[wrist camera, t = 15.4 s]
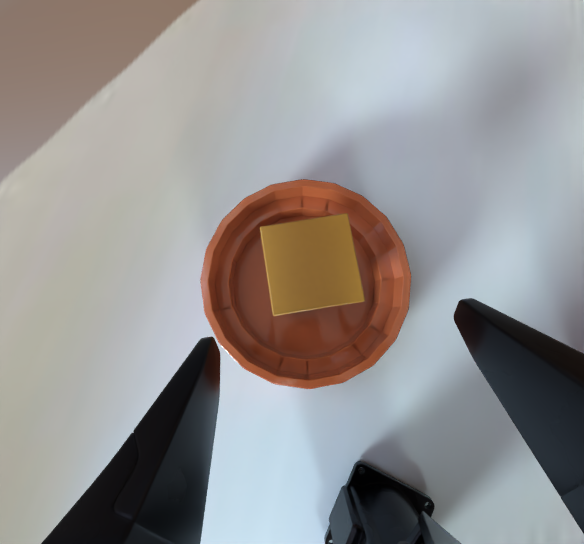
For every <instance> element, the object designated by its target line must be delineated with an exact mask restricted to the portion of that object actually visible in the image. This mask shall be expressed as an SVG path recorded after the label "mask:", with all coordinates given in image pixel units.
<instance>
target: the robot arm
mask: <svg viewBox="0 0 584 544" xmlns="http://www.w3.org/2000/svg"><path fill="white" fill-rule="evenodd" d="M454 321H455V323H456V325H457V327H458V329H459V331H460V333H461V335H462V337H463V339H464V341H465V343H466V345H467V347H468V350H469V352H470V353H471V355H472V357H473V359H474V361H475V362H476V364H477V366H478V367H479V369H480V370H481V372H482V374H483V375H484V377H485V378H486V380H487V381H488V383H489V385H490V386H491V388H492V389H493V391H494V393H495V394H496V396H497V397H498V399H499V400H500V402H501V404H502V405H503V407H504V408H505V410H506V411H507V413H508V415H509V416H510V418H511V419H512V421H513V423H514V424H515V426H516V427H517V429H518V430H519V432H520V434H521V435H522V437H523V438H524V440H525V441H526V443H527V445H528V446H529V448H530V449H531V451H532V453H533V454H534V456H535V457H536V459H537V460H538V462H539V464H540V465H541V467H542V468H543V470H544V472H545V473H546V475H547V476H548V478H549V479H550V481H551V483H552V484H553V486H554V487H555V489H556V490H557V492H558V494H559V495H560V496H561V499H562V500H563V502H564V503H565V505H566V507H567V508H568V510H569V511H570V513H571V514H572V516H573V518H574V519H575V521H576V522H577V524H578V526H579V527H580V529H581V530H582V532H583V533H584V354H583V353H581V352H579V351H577V350H575V349H573V348H571V347H569V346H567V345H565V344H563V343H561V342H559V341H557V340H555V339H553V338H551V337H549V336H547V335H545V334H543V333H541V332H539V331H537V330H535V329H533V328H531V327H529V326H527V325H525V324H523V323H521V322H519V321H517V320H515V319H513V318H511V317H509V316H507V315H505V314H503V313H501V312H499V311H497V310H495V309H493V308H491V307H489V306H487V305H485V304H483V303H481V302H479V301H477V300H475V299H472V298H469V299H462V300H460V301H459V303H458V305H457V308H456V311H455V313H454ZM219 394H220V351H219V349H218V346H217V344H216V342H215V339H214V338H213V337H206V338H202V339H200V341H199V342H198V343H197V345H196V346H195V347H194V349H193V350H192V351H191V353H190V354H189V356H188V357H187V358H186V360H185V361H184V362H183V364H182V365H181V366H180V368H179V369H178V371H177V372H176V373H175V375H174V376H173V377H172V379H171V380H170V382H169V383H168V384H167V386H166V387H165V388H164V390H163V391H162V392H161V394H160V395H159V397H158V398H157V399H156V401H155V402H154V403H153V405H152V406H151V407H150V409H149V410H148V412H147V413H146V414H145V416H144V417H143V418H142V420H141V421H140V422H139V424H138V425H137V427H136V428H135V429H134V433H131V435H130V436H129V437H128V439H127V440H126V441H125V443H124V444H123V445H122V447H121V448H120V449H119V451H118V452H117V453H116V455H115V456H114V457H113V459H112V460H111V461H110V463H109V464H108V465H107V466H106V468H105V469H104V470H103V471H102V472H101V474H100V475H99V476H98V477H97V478H96V480H95V481H94V482H93V483H92V485H91V486H90V487H89V488H88V489H87V490H86V492H85V493H84V494H83V495H82V496H81V498H80V499H79V500H78V501H77V502H76V503H75V505H74V506H73V507H72V508H71V509H70V511H69V512H68V513H67V514H66V515H65V516H64V518H63V519H62V520H61V521H60V522H59V524H58V525H57V526H56V527H55V528H54V529H53V531H52V532H51V533H50V534H49V535H48V536H47V538H46V539H45V540H44V541H43V542H42V543H41V544H200V541H201V534H202V526H203V519H204V511H205V504H206V496H207V489H208V481H209V474H210V466H211V458H212V451H213V443H214V436H215V428H216V421H217V413H218V406H219ZM360 467H362V468H363V470H362V471H361V472H360V471H358V469H359V468H360ZM426 502H429V503H428V505H427V506H424V505H425V503H426ZM433 510H434V503H433V501H432V500H431V498H430V497H429V496H427V495H426V494H424V493H422V492H420V491H418V490H416V489H414V488H412V487H410V486H408V485H406V484H404V483H403V482H401V481H399V480H397V479H395V478H393V477H391V476H389V475H387V474H385V473H383V472H381V471H379V470H378V469H376V468H374V467H372V466H370V465H368V464H366V463H364V462H362V461H358V462H356V463H355V464H354V467H353V469H352V471H351V474H350V476H349V479H348V481H347V484H346V485H345V486H343V487H342V488H341V490H340V492H339V495H338V497H337V500H336V502H335V505H334V507H333V509H332V512H331V514H330V517H329V522H330V525H329V527H328V530H327V532H326V534H325V538H324V540H325V544H461V543H460V542H459V541H458V540H456V539H455V538H454V537H453V536H452V535H450V534H449V533H448V532H447V531H446V530H445V529H443V528H442V527H441V526H440V525H439V524H438V523H436V522H435V521H434V520H433V519H432V518H431V516H432V513H433ZM329 540H333V542H332V543H330V542H329Z"/></svg>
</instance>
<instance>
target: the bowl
mask: <svg viewBox="0 0 584 544" xmlns="http://www.w3.org/2000/svg"><path fill="white" fill-rule="evenodd" d="M344 213H347V214H348V217H349V222H350V227H351V232H352V237H353V242H354V247H355V252H356V257H357V262H358V267H359V272H360V277H361V282H362V287H363V292H364V297H365V301H364V302H358V303H352V304H346V305H339V306H333V307H327V308H321V309H315V310H309V311H303V312H297V313H290V314H284V315H278V316H273V313H272V307H271V300H270V293H269V286H268V280H267V273H266V266H265V260H264V253H263V246H262V240H261V233H260V227H261V226H267V225H274V224H280V223H286V222H293V221H299V220H305V219H312V218H318V217H325V216H331V215H337V214H344ZM200 280H201V289H202V297H203V304H204V312H205V315H206V317H207V319H208V321H209V323H210V325H211V327H212V330H213V332H214V334H215V336H216V338H217V340H218V342H219V343H220V345H221V346H222V347H223V348H224V349H225V350H226V351H227V352H228V353H229V354H230V355H231V356H232V357H233V358H234V359H235V360H236V361H237V362H238V363H239V364H240V365H241V366H242V368H244V369H246V370H248V371H249V372H251V373H253V374H255V375H257V376H259V377H261V378H263V379H265V380H267V381H269V382H271V383H273V384H277V385H283V386H290V387H297V388H304V389H313V388H318V387H323V386H329V385H334V384H339V383H343V382H345V381H347V380H349V379H351V378H352V377H354V376H356V375H358V374H359V373H361V372H363V371H365V370H366V369H368V368H370V367H372V366H373V365H374V364H375V363H376V362H377V361H378V360H379V359H380V358H381V356H382V355H383V354H384V353H385V352H386V351H387V350H388V348H389V347H390V346H391V345H392V344H393V343H394V342H395V340H396V338H397V336H398V333H399V331H400V329H401V326H402V324H403V321H404V319H405V317H406V314H407V312H408V309H409V299H410V285H411V273H410V269H409V265H408V261H407V257H406V252H405V248H404V245H403V243H402V241H401V239H400V238H399V236H398V235H397V233H396V231H395V230H394V228H393V226H392V225H391V223H390V222H389V220H388V218H387V217H386V216H385V215H384V214H383V213H382V212H380V211H379V210H378V209H377V208H376V207H375V206H374V205H372V204H371V203H370V202H369V201H368V200H367V199H366V198H364V197H363V196H362V195H359V194H357V193H355V192H353V191H350V190H348V189H346V188H344V187H341V186H339V185H337V184H335V183H330V182H322V181H314V180H306V179H303V180H302V179H301V180H295V181H290V182H284V183H278V184H273V185H270V186H268V187H266V188H264V189H262V190H260V191H258V192H256V193H254V194H252V195H250V196H248V197H246V198H244V199H243V200H242V201H241V202H240V203H239V204H238V205H237V206H236V207H235V208H234V209H233V210H232V211H231V212H230V213H229V214H228V215H227V216H226V217H225V218H224V219H223V220H222V221H221V223H220V224H219V226H218V228H217V230H216V232H215V234H214V235H213V237H212V239H211V241H210V243H209V245H208V247H207V249H206V253H205V258H204V263H203V269H202V274H201V279H200Z"/></svg>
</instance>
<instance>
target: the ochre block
mask: <svg viewBox="0 0 584 544" xmlns="http://www.w3.org/2000/svg"><path fill="white" fill-rule="evenodd" d="M260 233H261V240H262V246H263V253H264V260H265V266H266V273H267V280H268V286H269V293H270V300H271V307H272V313H273V316H278V315H284V314H290V313H297V312H303V311H309V310H315V309H321V308H327V307H333V306H339V305H346V304H352V303H358V302H364V301H365V297H364V292H363V287H362V282H361V277H360V272H359V267H358V262H357V257H356V252H355V247H354V242H353V237H352V232H351V227H350V222H349V217H348V214H347V213H344V214H337V215H331V216H325V217H318V218H312V219H305V220H299V221H293V222H286V223H280V224H274V225H267V226H261V227H260Z"/></svg>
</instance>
